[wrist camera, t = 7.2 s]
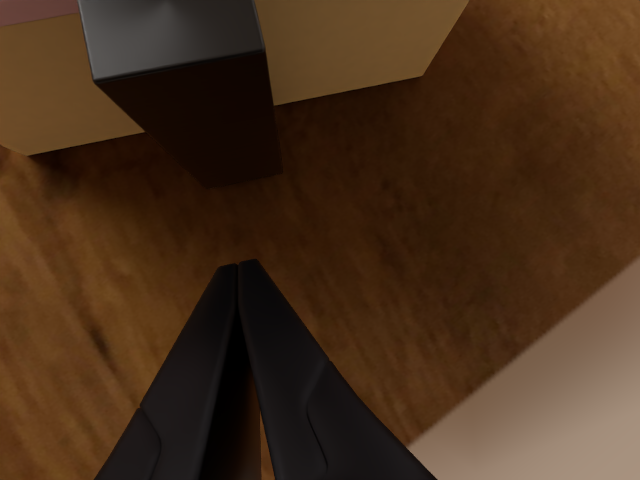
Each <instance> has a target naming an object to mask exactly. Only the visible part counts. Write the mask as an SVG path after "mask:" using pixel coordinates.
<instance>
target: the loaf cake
mask: <svg viewBox="0 0 640 480" xmlns="http://www.w3.org/2000/svg"><path fill="white" fill-rule="evenodd" d="M468 2H469V0H255V4H256V9H257V13H258V17H259V22H260V26H261V30H262V34H263V39H264V43H265V47H266V54H267V61H268V68H269V75H270V82H271V89H272V96H273V103H274V106H275V105H280V104H285V103H290V102H295V101H300V100H305V99H310V98H315V97H320V96H325V95H330V94H335V93H340V92H345V91H350V90H355V89H360V88H365V87H370V86H375V85H380V84H385V83H390V82H395V81H400V80H405V79H410V78H415V77H420V76H422V75H423V74H424V72H425V71H426V69H427V68H428V66H429V64H430V63H431V61H432V60H433V58H434V56H435V55H436V53H437V52H438V50H439V48H440V47H441V45H442V43H443V42H444V40H445V39H446V37H447V35H448V34H449V32H450V31H451V29H452V27H453V26H454V24H455V23H456V21H457V19H458V18H459V16H460V15H461V13H462V11H463V10H464V8H465V7H466V5H467V3H468ZM143 132H145V131H144V130H143V129H142V128H141V127H140V126H139V125H138V124H137V123H135V122H134V121H133V120H132V119H131V118H130V117H129V116H128V115H127V114H126V113H125V112H124V111H123V110H122V109H121V108H119V107H118V106H117V105H116V104H115V103H114V102H113V101H112V100H111V99H110V98H109V97H108V96H107V95H106V94H105V93H104V92H102V91H101V90H100V89H99V88H98V87H97V86H96V85H95V84H94V82H93V80H92V75H91V70H90V65H89V60H88V55H87V50H86V45H85V40H84V35H83V29H82V24H81V19H80V14H79V9H78V4H77V0H0V145H2V146H4V147H6V148H8V149H11V150H13V151H15V152H18V153H20V154H22V155H24V156H28V155H33V154H38V153H43V152H48V151H53V150H58V149H63V148H68V147H73V146H78V145H83V144H88V143H93V142H98V141H103V140H108V139H113V138H118V137H123V136H128V135H133V134H138V133H143Z"/></svg>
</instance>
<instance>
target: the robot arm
mask: <svg viewBox="0 0 640 480" xmlns="http://www.w3.org/2000/svg"><path fill="white" fill-rule="evenodd" d="M260 411H261V416H262V420H263V425H264V430H265V434H266V439H267V443H268V448H269V452H270V457H271V462H272V466H273V471H274V475H275V480H437V479H436V478H435V477H434V476H433V475H432V474H431V473H430V472H429V471H428V470H427V469H426V468H425V467H424V466H423V465H422V464H421V462H420V461H419V460H418V459H417V458H416V457H415V456H414V455H413V454H412V453H411V452H410V451H409V450H408V449H407V448H406V447H405V446H404V445H403V444H402V443H401V442H400V441H399V440H398V439H397V438H396V437H395V436H394V434H393V433H392V432H391V431H390V430H389V429H388V428H387V427H386V426H385V425H384V424H383V423H382V422H381V421H380V420H379V419H378V418H377V417H376V416H375V415H374V413H373V412H372V411H371V410H370V409H369V408H368V407H367V406H366V405H365V403H364V402H363V401H362V400H361V399H360V398H359V397H358V396H357V394H356V393H355V392H354V391H353V389H352V388H351V387H350V385H349V384H348V383H347V382H346V380H345V379H344V378H343V377H342V375H341V374H340V373H339V371H338V370H337V368H336V367H335V366H334V364H333V363H332V362H331V361H329V358H328V356H327V355H326V354H325V352H324V351H323V349H322V348H321V347H320V345H319V344H318V342H317V341H316V340H315V338H314V337H313V336H312V334H311V333H310V331H309V330H308V329H307V327H306V326H305V325H304V323H303V322H302V320H301V319H300V318H299V316H298V315H297V313H296V312H295V311H294V309H293V308H292V307H291V305H290V304H289V302H288V301H287V300H286V298H285V297H284V295H283V294H282V293H281V291H280V290H279V289H278V287H277V286H276V284H275V283H274V282H273V280H272V279H271V278H270V276H269V275H268V273H267V272H266V271H265V269H264V268H263V266H262V265H261V264H260V262H259V261H258V260H257V259H251V260H246V261H242V262H240V263H239V264H238V265H237V264H236V263H233V264H228V265H224V266H220V267H218V268H217V270H216V271H215V273H214V275H213V277H212V278H211V280H210V282H209V284H208V285H207V287H206V289H205V291H204V292H203V294H202V296H201V298H200V299H199V301H198V303H197V305H196V306H195V308H194V310H193V312H192V314H191V315H190V317H189V319H188V321H187V322H186V324H185V326H184V328H183V329H182V331H181V333H180V335H179V336H178V338H177V340H176V342H175V343H174V345H173V347H172V349H171V350H170V352H169V354H168V356H167V357H166V359H165V361H164V363H163V364H162V366H161V368H160V370H159V371H158V373H157V375H156V377H155V379H154V380H153V382H152V384H151V386H150V387H149V389H148V391H147V393H146V394H145V396H144V398H143V400H142V401H141V403H140V408H138V409H137V410H136V412H135V413H134V415H133V417H132V419H131V420H130V422H129V424H128V426H127V427H126V429H125V431H124V432H123V434H122V436H121V437H120V439H119V441H118V442H117V444H116V446H115V447H114V449H113V451H112V452H111V454H110V456H109V457H108V459H107V460H106V462H105V463H104V465H103V466H102V468H101V470H100V471H99V473H98V474H97V476H96V477H95V479H94V480H261V441H260Z"/></svg>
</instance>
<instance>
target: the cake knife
mask: <svg viewBox="0 0 640 480" xmlns="http://www.w3.org/2000/svg"><path fill="white" fill-rule="evenodd" d="M77 4H78V9H79V14H80V19H81V24H82V29H83V35H84V40H85V45H86V50H87V55H88V60H89V65H90V70H91V75H92V80H93V82H94V84H95V85H96V86H97V87H98V88H99V89H100V90H101V91H102V92H104V93H105V94H106V95H107V96H108V97H109V98H110V99H111V100H112V101H113V102H114V103H115V104H116V105H117V106H118V107H119V108H121V109H122V110H123V111H124V112H125V113H126V114H127V115H128V116H129V117H130V118H131V119H132V120H133V121H134V122H135V123H137V124H138V125H139V126H140V127H141V128H142V129H143V130H144V131H145V132H146V133H147V134H148V135H149V136H150V137H151V138H152V139H154V140H155V141H156V142H157V143H158V144H159V145H160V146H161V147H162V148H163V149H164V150H165V151H166V152H167V153H168V154H169V155H171V156H172V157H173V158H174V159H175V160H176V161H177V162H178V163H179V164H180V165H181V166H182V167H183V168H184V169H185V170H186V171H188V172H189V173H190V174H191V175H192V176H193V177H194V178H195V179H196V180H197V181H198V182H199V183H200V184H201V185H202V186H204V187H205V188H206V189H210V188H215V187H220V186H224V185H229V184H234V183H239V182H243V181H248V180H253V179H257V178H262V177H267V176H271V175H276V174H281V173H283V167H282V160H281V153H280V146H279V139H278V132H277V125H276V117H275V110H274V103H273V96H272V89H271V82H270V75H269V68H268V61H267V54H266V47H265V43H264V39H263V34H262V30H261V26H260V22H259V17H258V13H257V9H256V4H255V0H77Z"/></svg>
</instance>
